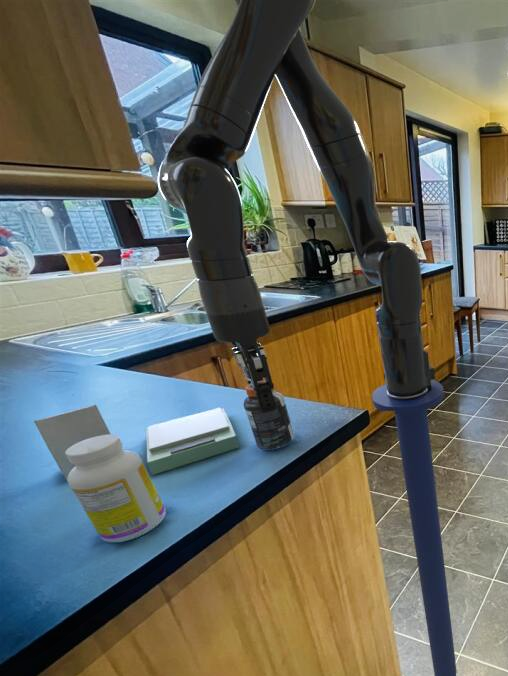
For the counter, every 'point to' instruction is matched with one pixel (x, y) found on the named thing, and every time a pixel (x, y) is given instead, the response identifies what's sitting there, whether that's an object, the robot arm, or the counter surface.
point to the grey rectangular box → (70, 432)
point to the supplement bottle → (114, 488)
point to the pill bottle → (268, 421)
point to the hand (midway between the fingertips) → (264, 403)
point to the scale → (189, 440)
